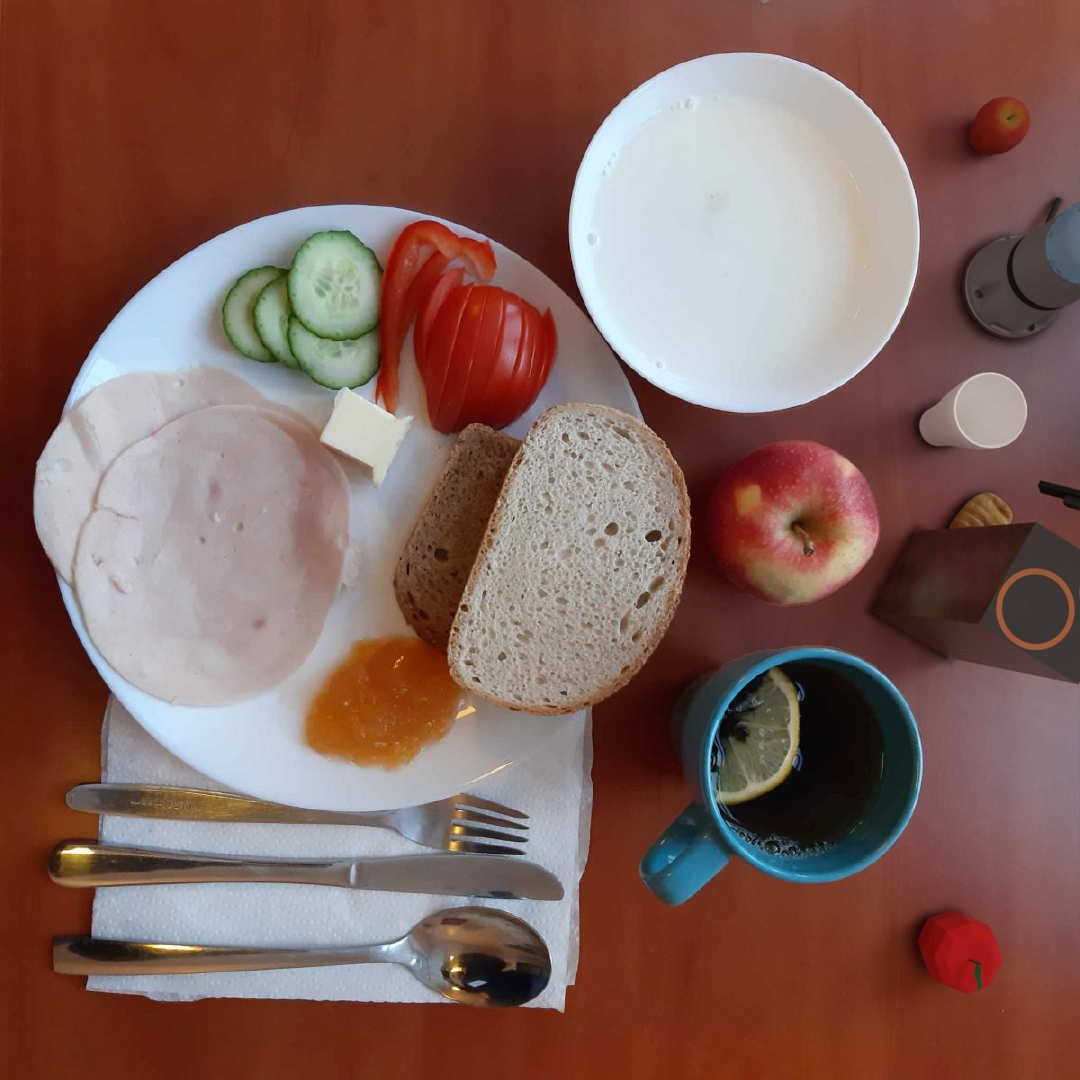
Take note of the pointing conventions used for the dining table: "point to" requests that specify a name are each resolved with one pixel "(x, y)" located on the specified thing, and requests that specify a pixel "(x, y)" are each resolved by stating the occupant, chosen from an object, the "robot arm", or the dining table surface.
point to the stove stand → (958, 594)
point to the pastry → (983, 512)
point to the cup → (977, 414)
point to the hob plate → (1041, 602)
